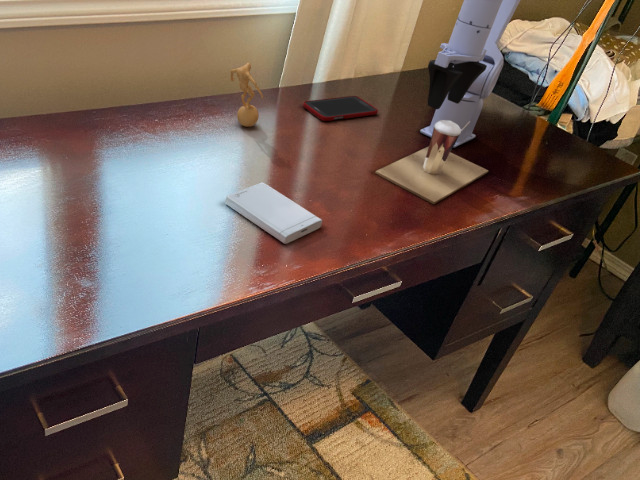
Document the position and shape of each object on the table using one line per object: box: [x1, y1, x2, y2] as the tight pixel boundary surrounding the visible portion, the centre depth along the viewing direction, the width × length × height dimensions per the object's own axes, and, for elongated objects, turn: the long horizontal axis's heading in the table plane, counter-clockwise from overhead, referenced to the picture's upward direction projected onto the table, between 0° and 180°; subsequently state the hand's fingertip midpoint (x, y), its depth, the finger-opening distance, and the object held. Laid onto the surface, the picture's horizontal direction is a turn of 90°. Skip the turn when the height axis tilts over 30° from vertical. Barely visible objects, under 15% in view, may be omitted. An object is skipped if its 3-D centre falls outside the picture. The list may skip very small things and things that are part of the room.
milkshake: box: [423, 120, 470, 175], centre depth 106 cm, size 4×5×10 cm
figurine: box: [230, 62, 264, 128], centre depth 110 cm, size 8×6×12 cm
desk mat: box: [374, 146, 489, 205], centre depth 110 cm, size 20×12×1 cm, turn 136°
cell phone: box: [302, 95, 379, 122], centre depth 125 cm, size 8×15×1 cm, turn 121°
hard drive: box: [224, 181, 323, 245], centre depth 91 cm, size 2×8×12 cm
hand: (443, 104), depth 108 cm, fingers open, 7 cm apart
